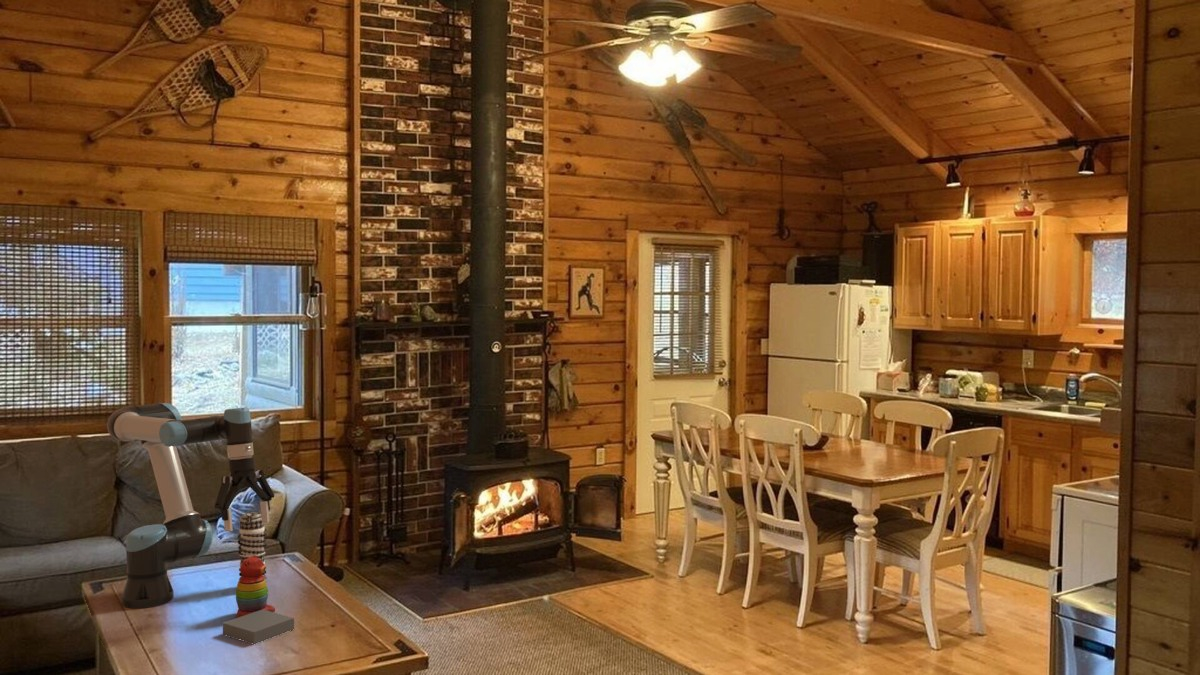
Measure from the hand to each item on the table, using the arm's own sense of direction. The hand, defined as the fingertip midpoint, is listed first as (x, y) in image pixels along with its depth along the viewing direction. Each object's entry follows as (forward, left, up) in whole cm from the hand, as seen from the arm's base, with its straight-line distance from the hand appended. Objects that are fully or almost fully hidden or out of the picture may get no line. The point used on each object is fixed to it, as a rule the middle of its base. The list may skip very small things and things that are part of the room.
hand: (247, 526), depth 302 cm
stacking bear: (+3, -1, -27) cm, 27 cm away
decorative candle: (-19, +16, -27) cm, 36 cm away
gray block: (+17, -10, -27) cm, 34 cm away
